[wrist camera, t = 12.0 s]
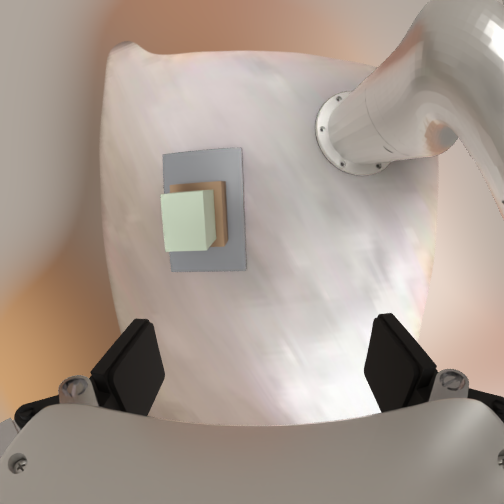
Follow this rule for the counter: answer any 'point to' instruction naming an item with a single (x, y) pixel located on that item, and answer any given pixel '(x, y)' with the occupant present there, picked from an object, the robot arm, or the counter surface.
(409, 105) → the robot arm
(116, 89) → the counter surface
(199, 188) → the walnut base block
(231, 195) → the slate baseplate
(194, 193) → the sage block
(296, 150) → the counter surface
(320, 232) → the counter surface
